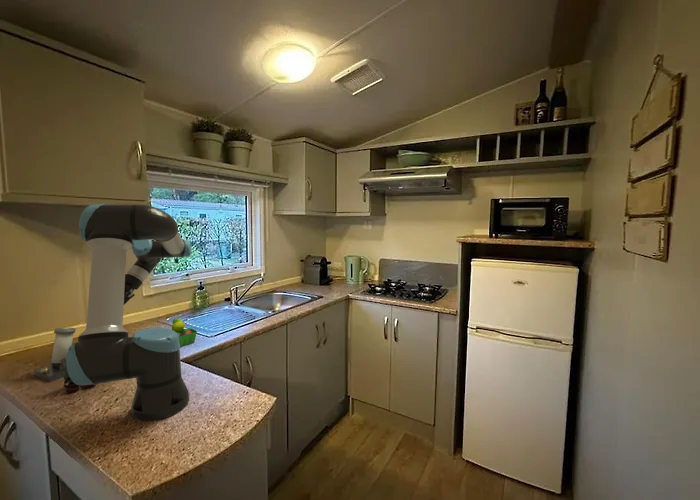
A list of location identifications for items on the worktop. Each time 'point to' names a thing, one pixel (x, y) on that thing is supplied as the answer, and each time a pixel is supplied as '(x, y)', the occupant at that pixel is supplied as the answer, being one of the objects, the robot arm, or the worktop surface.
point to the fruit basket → (183, 332)
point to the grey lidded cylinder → (62, 343)
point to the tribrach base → (51, 371)
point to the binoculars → (72, 383)
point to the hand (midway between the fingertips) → (95, 326)
